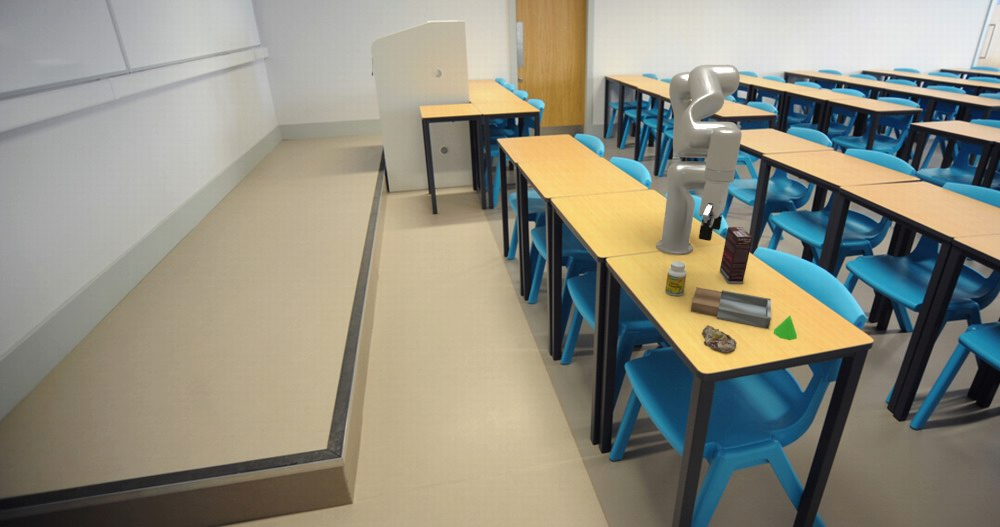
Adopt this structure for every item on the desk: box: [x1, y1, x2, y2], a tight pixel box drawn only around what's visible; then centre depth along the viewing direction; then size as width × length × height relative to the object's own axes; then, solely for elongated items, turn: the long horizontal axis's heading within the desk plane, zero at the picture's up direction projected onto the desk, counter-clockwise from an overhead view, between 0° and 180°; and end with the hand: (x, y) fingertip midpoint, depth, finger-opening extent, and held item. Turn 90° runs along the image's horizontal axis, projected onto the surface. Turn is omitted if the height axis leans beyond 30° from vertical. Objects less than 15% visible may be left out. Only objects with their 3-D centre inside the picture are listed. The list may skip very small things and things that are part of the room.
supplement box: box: [719, 226, 754, 285], centre depth 164 cm, size 9×5×16 cm, turn 178°
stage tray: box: [690, 286, 772, 329], centre depth 148 cm, size 12×20×3 cm, turn 65°
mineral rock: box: [702, 325, 737, 353], centre depth 134 cm, size 11×4×8 cm
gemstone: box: [773, 315, 798, 341], centre depth 136 cm, size 6×6×6 cm
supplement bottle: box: [665, 260, 687, 297], centre depth 157 cm, size 5×5×10 cm
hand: (709, 234), depth 147 cm, fingers open, 9 cm apart
